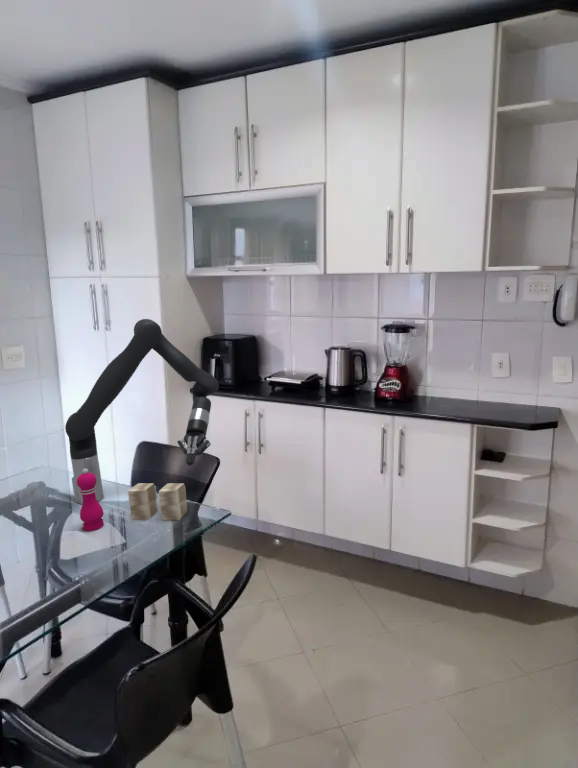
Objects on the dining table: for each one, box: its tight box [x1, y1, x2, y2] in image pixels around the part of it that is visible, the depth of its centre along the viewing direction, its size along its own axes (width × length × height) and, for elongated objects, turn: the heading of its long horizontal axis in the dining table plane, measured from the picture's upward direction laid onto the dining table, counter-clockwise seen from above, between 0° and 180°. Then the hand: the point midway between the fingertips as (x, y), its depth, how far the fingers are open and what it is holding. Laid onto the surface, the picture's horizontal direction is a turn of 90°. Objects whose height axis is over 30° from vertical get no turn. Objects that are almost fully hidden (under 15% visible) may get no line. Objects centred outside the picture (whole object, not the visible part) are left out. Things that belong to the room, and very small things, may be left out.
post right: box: [158, 482, 188, 521], centre depth 175 cm, size 6×7×10 cm
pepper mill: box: [77, 469, 105, 532], centre depth 171 cm, size 7×7×20 cm
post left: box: [127, 482, 159, 521], centre depth 178 cm, size 6×7×10 cm
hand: (189, 464), depth 190 cm, fingers closed
